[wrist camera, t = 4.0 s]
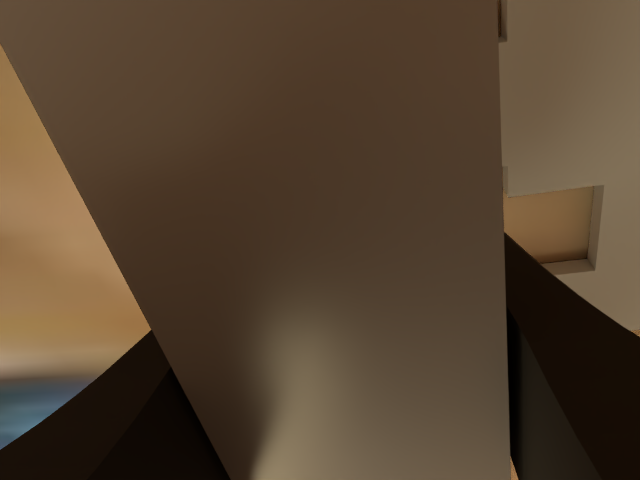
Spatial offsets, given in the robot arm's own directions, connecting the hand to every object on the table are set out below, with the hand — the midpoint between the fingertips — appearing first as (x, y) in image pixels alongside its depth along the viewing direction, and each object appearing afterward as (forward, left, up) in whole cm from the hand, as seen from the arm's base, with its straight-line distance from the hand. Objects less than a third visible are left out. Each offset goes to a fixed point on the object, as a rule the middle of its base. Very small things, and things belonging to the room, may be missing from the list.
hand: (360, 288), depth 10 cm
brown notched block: (0, 0, -2) cm, 3 cm away
